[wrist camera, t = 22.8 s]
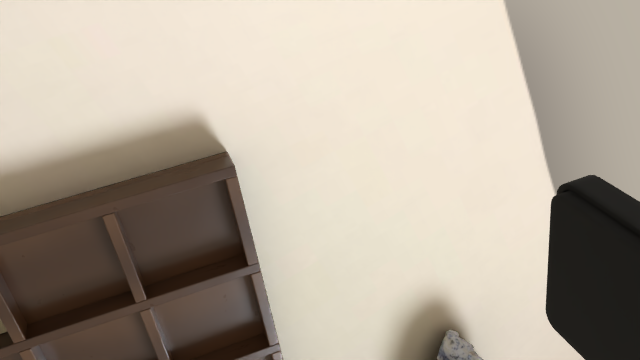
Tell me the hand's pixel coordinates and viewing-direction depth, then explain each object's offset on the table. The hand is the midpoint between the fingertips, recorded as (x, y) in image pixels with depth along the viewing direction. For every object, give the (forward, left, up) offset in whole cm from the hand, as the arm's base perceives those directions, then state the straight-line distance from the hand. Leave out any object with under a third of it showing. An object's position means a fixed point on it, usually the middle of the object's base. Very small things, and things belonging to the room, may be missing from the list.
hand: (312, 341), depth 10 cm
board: (+20, -9, -26) cm, 34 cm away
